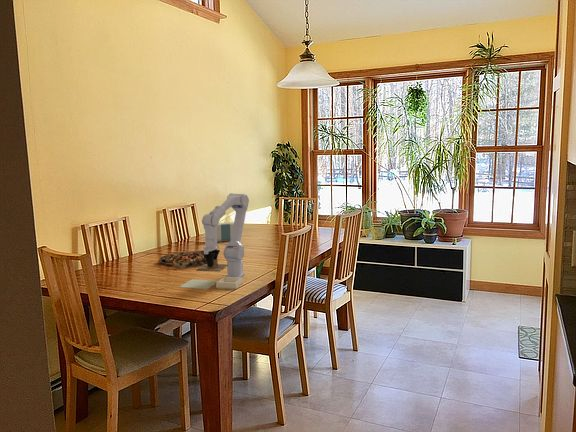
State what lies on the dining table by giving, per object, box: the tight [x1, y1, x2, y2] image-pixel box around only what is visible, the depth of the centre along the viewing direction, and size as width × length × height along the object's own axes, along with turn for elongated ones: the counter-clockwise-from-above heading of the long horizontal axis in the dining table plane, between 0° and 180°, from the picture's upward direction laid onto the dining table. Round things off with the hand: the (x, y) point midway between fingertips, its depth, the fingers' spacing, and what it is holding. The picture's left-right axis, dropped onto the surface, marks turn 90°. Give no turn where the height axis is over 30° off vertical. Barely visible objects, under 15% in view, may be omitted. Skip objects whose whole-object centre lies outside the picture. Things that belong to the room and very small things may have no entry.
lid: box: [196, 258, 228, 273], centre depth 240 cm, size 12×12×4 cm
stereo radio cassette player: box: [217, 213, 234, 243], centre depth 359 cm, size 21×8×20 cm, turn 113°
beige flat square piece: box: [178, 278, 218, 290], centre depth 243 cm, size 14×15×1 cm
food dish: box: [158, 249, 207, 269], centre depth 293 cm, size 35×33×8 cm
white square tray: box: [215, 276, 243, 290], centre depth 239 cm, size 10×10×3 cm
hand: (212, 265), depth 240 cm, fingers closed on lid, 4 cm apart
